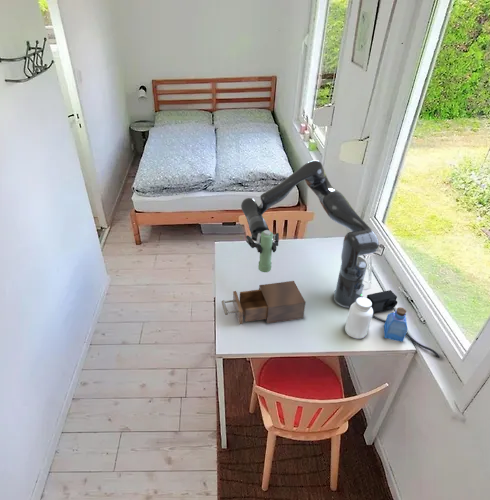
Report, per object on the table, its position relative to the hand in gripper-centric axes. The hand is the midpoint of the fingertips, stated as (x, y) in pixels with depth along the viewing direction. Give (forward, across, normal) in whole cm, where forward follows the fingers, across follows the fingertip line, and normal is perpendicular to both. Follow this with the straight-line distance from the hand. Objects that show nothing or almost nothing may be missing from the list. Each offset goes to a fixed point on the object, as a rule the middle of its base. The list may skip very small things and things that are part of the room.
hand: (267, 250), depth 148 cm
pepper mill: (-3, 0, +11) cm, 11 cm away
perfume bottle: (+27, +42, +23) cm, 56 cm away
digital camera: (+14, +43, +24) cm, 51 cm away
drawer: (+10, -10, +22) cm, 26 cm away
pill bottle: (+24, +29, +23) cm, 45 cm away
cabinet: (+9, +4, +23) cm, 25 cm away
